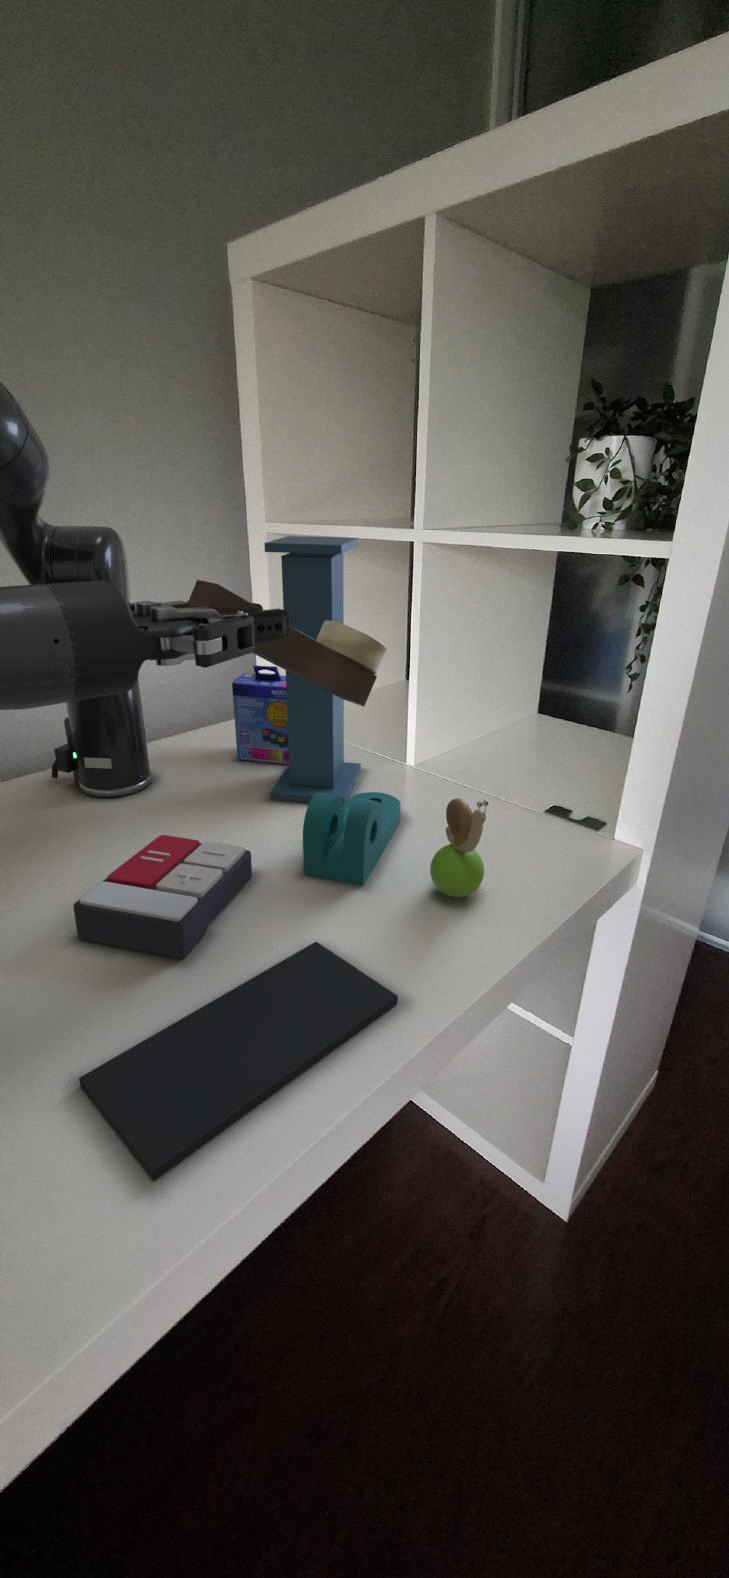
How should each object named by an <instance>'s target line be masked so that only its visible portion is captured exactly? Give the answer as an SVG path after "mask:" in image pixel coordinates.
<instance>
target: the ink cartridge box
mask: <svg viewBox="0 0 729 1578" xmlns="http://www.w3.org/2000/svg"><path fill="white" fill-rule="evenodd" d="M252 667H253V672H254V673H247V672H246V673H242V674H241V675H240V676H238V677H237V678H235V679H234V680H233V681H232V683H231V689H232V703H233V716H234V729H235V731H234V732H235V744H236V756H237V757H236V758H237V760H239V761H250V762H260V763H268V764H269V763H270V764H280V765H288V766H289V746H288V719H287V693H286V675H281V674H280V672H279V669H278V666H270V665H269V666H268V665H253V666H252ZM260 671H270V672H273V673H269V672H268V673H266V672H260Z"/></svg>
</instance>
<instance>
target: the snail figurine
mask: <svg viewBox="0 0 729 1578" xmlns="http://www.w3.org/2000/svg"><path fill="white" fill-rule="evenodd" d="M476 806H477V809H475V810H474V811H472V809H471V808H470V806H469V804H468V803H467V802H466V801H465V800H463V799H462V798H453V799H451V800H450V801H449V802H448V803H447V806H446V810H445V818H446V823H447V826H445V834H446V839H447V840H448V842H449V844H446V845H444V846H442V847H441V848H440V849H438V850H437V852H435V854H434V855H433V857H432V858H431V861H430V866H429V873H430V878H431V880H432V881H431V882H432V883H433V884H434V886H435V887H436V889H437V890H439V892H441V893H443V894H444V895H447V896H448V897H454V898H462V897H466V896H469V895H471V894H473V893H474V892H476V890H478V889H479V887H480V886H481V884H482V882H483V879H484V876H485V865H484V861H483V859H482V857H481V855H480V854H479V852H477V850H475V849H476V848H477V847H478V845H479V843H480V840H481V837H482V833H483V829H484V824H485V822H486V819H487V815H486V811H487V810H486V809H487V806H489V801H488V800H486V799H485V800H483V801H481V800H480V801H477V802H476ZM482 806H484V811H483V810H482V809H481V808H482Z"/></svg>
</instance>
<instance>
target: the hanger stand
mask: <svg viewBox="0 0 729 1578" xmlns="http://www.w3.org/2000/svg"><path fill="white" fill-rule="evenodd" d="M358 540H359V539H358V537H342V536H341V537H340V536H301V535H300V536H299V535H296V536H295V535H286V536H284V537H281V538H277V539H272V540H270V541H266V542H264V552H265V553H282V554H283V555H281V556H280V557H281V558H280V559H281V579H282V580H281V581H282V583H281V584H282V585H281V586H282V609H283V610H286V611H287V612H288V614H289V625H290V626H291V627H293V628H295V629H297V630H298V631H300V632H302V633H304V634H305V635H307V636H309V637H310V638H312V639H314V640H316V639H317V637H318V635H319V632H320V630H321V627H322V625H323V623H324V621H326V620H328V621H334V622H338V623H341V624H344V623H345V622H344V619H345V618H344V611H345V609H344V608H345V607H344V606H345V605H344V600H345V599H344V596H345V595H344V589H345V587H344V554H346V553H347V552H349V551H351V550H352V549H355V548H356V547H358V545H359V544H358ZM284 553H285V554H284ZM344 625H345V624H344ZM285 676H286V693H287V719H288V746H289V765H288V766H287V768H286V769H285V770H284V772H283V773H282V774H281V776H280V777H279V779H277V782H276V783H275V784H274V786H273V787H272V789H271V790H270V791H269V796H270V797H269V798H270V799H269V800H270V801H280V802H288V803H289V802H290V803H300V804H301V803H302V804H309V802H310V800H311V799H312V797H313V796H314V795H315V794H316V793H323V794H330V795H337V796H340V797H341V799H342V801H343V805H344V804H345V802H346V801H347V800H348V799H349V798H350V796H351V793H352V791H353V788H354V786H355V784H356V782H357V780H358V777H359V776H360V773H361V772H362V763H359V762H346V761H345V707H344V706H345V700H343V699H341V698H339V697H337V696H336V695H334V694H332V693H330V692H328V691H326V690H324V689H322V688H320V687H318V686H316V685H314V684H312V683H310V682H308V681H306V680H304V679H302V678H300V677H298V676H296V675H294V674H292V673H290V672H289V671H287V670H285Z"/></svg>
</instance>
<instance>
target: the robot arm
mask: <svg viewBox="0 0 729 1578" xmlns="http://www.w3.org/2000/svg"><path fill="white" fill-rule="evenodd" d="M49 459H50V458H49V455H48V452H47V449H46V447H45V445H44V443H43V442H42V440H41V437H40V436H39V434H38V433H37V431H36V429H35V428H34V426H33V424H32V423H31V421H30V420H29V418H28V416H27V414H26V412H25V411H24V410H23V408H22V406H21V405H20V403H19V401H18V400H17V399H16V397H15V396H14V395H13V394H12V392H11V391H10V390H9V389H8V388H7V387H6V385H5V384H4V383H2V381H0V544H1V545H2V547H3V548H4V549H5V551H6V553H7V554H8V556H9V558H10V559H11V560H12V561H13V563H14V565H15V566H16V568H17V569H18V571H19V572H20V574H21V576H22V577H23V578H24V580H25V581H26V582H27V584H25V585H24V584H21V585H7V586H0V711H9V710H10V711H11V710H13V711H16V710H28V709H35V708H36V709H37V708H41V707H47V706H53V705H59V704H65V706H66V711H67V716H68V717H65V718H64V720H63V726H64V731H65V737H66V742H67V743H65V744H63V745H60V746H58V747H56V748H54V749H53V751H54V756H55V760H54V761H53V763H52V765H51V776H50V777H51V778H52V779H58V778H59V772H62V773H65V774H70V773H72V775H73V780H74V785H75V786H76V787H79V789H80V791H81V792H82V793H84V795H85V794H86V795H88V796H92V797H97V798H113V797H121V796H126V795H131V794H134V793H137V792H139V791H141V790H144V789H145V788H147V787H148V786H149V785H150V784H151V783H152V780H153V778H152V771H151V768H150V760H149V759H150V758H149V752H148V744H147V736H146V728H145V727H146V726H145V721H144V713H143V712H144V711H143V705H142V697H141V689H140V681H139V676H140V675H139V673H140V669H141V667H142V666H143V664H144V662H145V661H155V665H156V666H159V667H166V666H167V667H168V666H177V665H181V664H183V662H184V661H192V660H194V661H195V663H194V664H195V666H196V667H201V668H209V667H213V666H216V665H219V664H221V663H225V662H228V661H232V660H234V659H237V658H240V657H244V656H246V655H250V654H253V652H255V643H256V642H263V641H271V640H278V639H285V638H287V636H288V635H289V614H288V612H287V611H286V610H283V608H270V609H264V608H263V606H262V605H261V603H256V602H251V603H252V604H253V605H255V606H257V607H259V608H260V609H262V610H260V611H250V612H243V611H241V610H238V611H236V612H227V613H218V612H217V611H216V610H215V609H212V608H210V607H194V608H187V606H188V604H189V602H188V601H189V600H186V601H184V600H172V601H164V602H157V601H151V600H143V601H135V602H132V603H131V591H130V579H129V577H130V576H129V564H128V557H127V552H126V548H125V545H124V542H123V540H122V538H121V536H120V535H119V533H118V532H117V530H115V529H113V528H111V527H108V526H93V525H92V526H91V525H90V526H89V525H88V526H87V525H86V526H82V525H79V526H78V525H52V524H50V523H48V522H46V521H44V520H43V519H42V518H41V516H40V515H39V513H40V511H41V508H42V505H43V503H44V501H45V498H46V494H47V491H48V488H49V484H50V475H51V474H50V473H51V472H50V471H51V470H50V468H51V467H50V466H51V465H50V460H49ZM198 617H203V618H204V620H205V624H201V620H200V618H198Z"/></svg>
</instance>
